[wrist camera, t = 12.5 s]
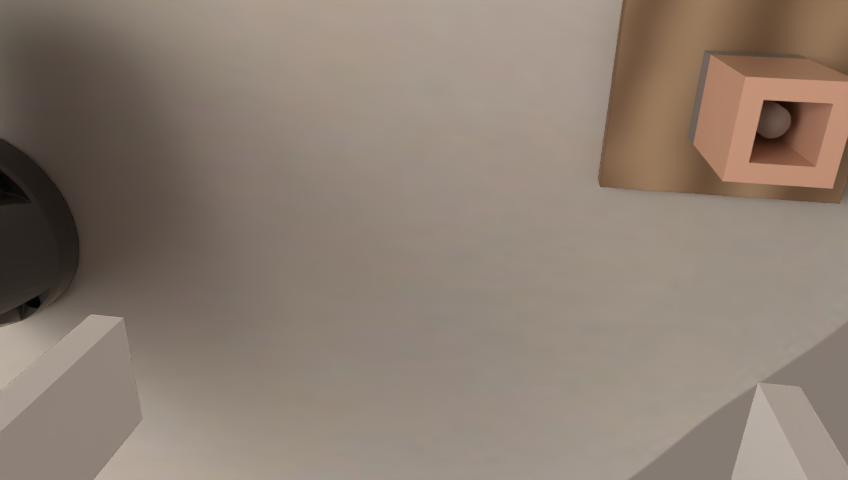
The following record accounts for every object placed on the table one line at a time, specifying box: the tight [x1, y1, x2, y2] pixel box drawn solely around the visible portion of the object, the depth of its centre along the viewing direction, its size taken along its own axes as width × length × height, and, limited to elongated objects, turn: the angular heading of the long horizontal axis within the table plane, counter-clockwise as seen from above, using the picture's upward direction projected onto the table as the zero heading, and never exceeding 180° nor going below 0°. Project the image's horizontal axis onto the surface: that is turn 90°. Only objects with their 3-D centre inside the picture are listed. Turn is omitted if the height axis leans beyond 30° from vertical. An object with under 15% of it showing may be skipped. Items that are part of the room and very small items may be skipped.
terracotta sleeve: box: [688, 50, 848, 189], centre depth 35 cm, size 5×5×8 cm
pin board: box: [598, 0, 848, 204], centre depth 34 cm, size 14×22×8 cm, turn 179°
